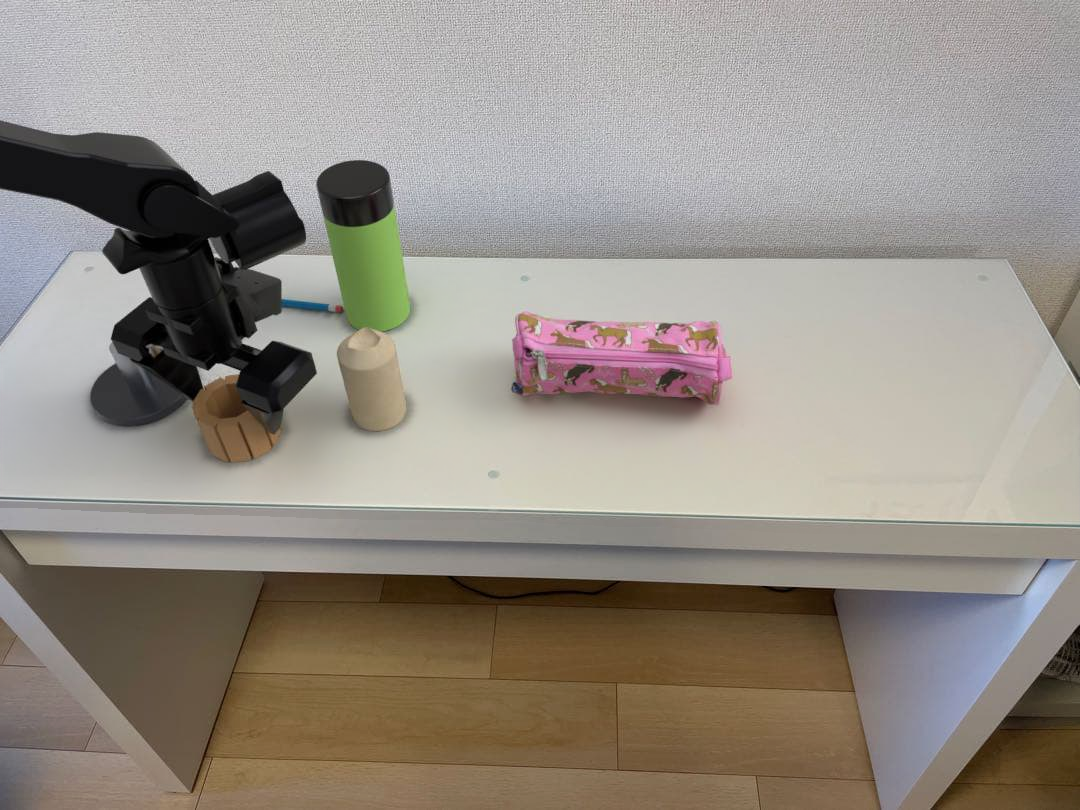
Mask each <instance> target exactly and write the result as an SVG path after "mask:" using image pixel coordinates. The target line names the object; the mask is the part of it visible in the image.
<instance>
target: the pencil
mask: <svg viewBox="0 0 1080 810" xmlns="http://www.w3.org/2000/svg"><path fill="white" fill-rule="evenodd" d="M282 307H287V308H296V309H297V308H298V309H305V310H314V311H322V312H333V313H340V314H342V313H343V311H344V306H343V305H340V304H339V305H338V304H329V303H322V302H321V303H320V302H313V301H312V302H310V301H303V300H294V299H285V298H282Z"/></svg>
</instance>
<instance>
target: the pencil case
mask: <svg viewBox="0 0 1080 810" xmlns="http://www.w3.org/2000/svg"><path fill="white" fill-rule="evenodd" d="M514 323H515V324H514V325H515V331H516V333H515V337H513V338H512V339H511V343H512V344H511V345H512V352H513V357H514V359H513V361H514V362H513V364H514V372H515V379H516V381H513V382H512V385H511V389H510V390H511V392H512V393H513V394H515V395H519V396H520V395H522V396H525V397H526V396H530V395H533V394H540V395H541V394H542V395H549V394H550V395H560V394H564V395H570V394H573V393H586V392H591V393H596V394H603V395H616V394H621V395H622V394H623V395H624V394H626V395H627V394H631V395H642V396H648V397H651V396H652V397H660V398H675V397H676V398H692V397H696V398H698V399H700V400H702V401H704V402H706V403H707V404H708V405H711V406H712V405H714V406H717V405H719V404H720V402H721V398H722V387H723V386H722V384H723V383H724V382H726V381H729V380H732V379H733V373H732V372H733V371H732V363H731V356H729V355H727V351H726V347H725V345H724V343H723V333H722V326H721V325H722V324H721V323H720V322H718V321H716V320H711V321H704V320H699V321H692V322H689V323H685V322H684V323H682V322H681V323H678V322H673V323H671V322H663V321H662V322H661V321H660V322H659V321H648V322H647V321H642V322H641V321H638V322H635V321H634V322H629V321H627V322H626V321H625V322H623V321H594V320H579V319H560V318H559V319H558V318H552V317H545V316H542V315H539V314H535V313H531V312H530V311H522V312H520V313H517V314H516V315H515V319H514Z"/></svg>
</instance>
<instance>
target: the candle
mask: <svg viewBox="0 0 1080 810" xmlns="http://www.w3.org/2000/svg"><path fill="white" fill-rule="evenodd" d="M336 357H337V362H338V366H339V369H340V373H341V377H342V381H343V385H344V389H345V393H346V398H347V401H348V406H349V409H350V413H351V416H352V419H353V421H354V422H355V424H356V425H357V426H358V427H360V428H362V429H363V430H366V431H371V432H381V431H386V430H389V429H392V428H393V427H395V426H397V425H398V424H399V423H401V421H402V420H403V419H404V417H405V416H406V413H407V402H406V397H405V396H406V395H405V389H404V384H403V379H402V373H401V367H400V363H399V357H398V352H397V346H396V343H395V340H394V339H393V338H392V337H391V336H390V335H389V334H387V333H385V332H384V331H382V332H380V331H377V330H373V329H371V328H369V327H365V328H362V329H360V330H359V329H358V330H357V331H355V332H352V333H351V334H350V335H348V336H347V337H346V338H344V339H343V340H342V341H341V342H340V343H339V345H338V347H337V349H336Z"/></svg>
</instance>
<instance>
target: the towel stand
mask: <svg viewBox="0 0 1080 810" xmlns="http://www.w3.org/2000/svg"><path fill="white" fill-rule="evenodd" d="M108 349H109V352H110V354H111V357H112V358H113V360H114V362H115V363H114V364H112V365H111V366H109V367H108V368H107V369H105V370H104V371H103V372H102V373H101V374H100V375H99V376H98V377H97V379H96V380H95V381H94V383H93V385H92V387H91V390H90V393H89V397H90V398H89V399H90V400H89V401H90V404H91V406H92V408H93V410H94V411H95V413H96V415H97V416H98V417H99V418H100V419H101V420H103V421H105V422H106V423H109V424H111V425H113V426H118V427H137V426H143V425H147V424H151V423H154V422H157V421H159V420H162V419H164V418H166V417H168V416H169V415H171V414H173V413H174V412H176V411H177V410H178V409H179V408H180V407H181V406H183V404H184V403H186V401H187V400H188V398H186V397H185V396H183V395H182V394H180V393H179V392H178V391H176V390H175V389H173V388H172V387H170V386H169V385H167V384H166V383H164V382H163V381H161V380H160V379H158V378H157V377H155V376H154V375H152V374H151V373H149V372H148V371H146V370H145V369H143V368H142V367H140V366H139V365H137V364H135V363H133V362H132V361H131V360H130V358H128V357H126V356H123V355H121V354H118V352H117V350H116V348H115V346H114V344H113V342H112V341H111V342H110V344H109V346H108Z"/></svg>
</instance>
